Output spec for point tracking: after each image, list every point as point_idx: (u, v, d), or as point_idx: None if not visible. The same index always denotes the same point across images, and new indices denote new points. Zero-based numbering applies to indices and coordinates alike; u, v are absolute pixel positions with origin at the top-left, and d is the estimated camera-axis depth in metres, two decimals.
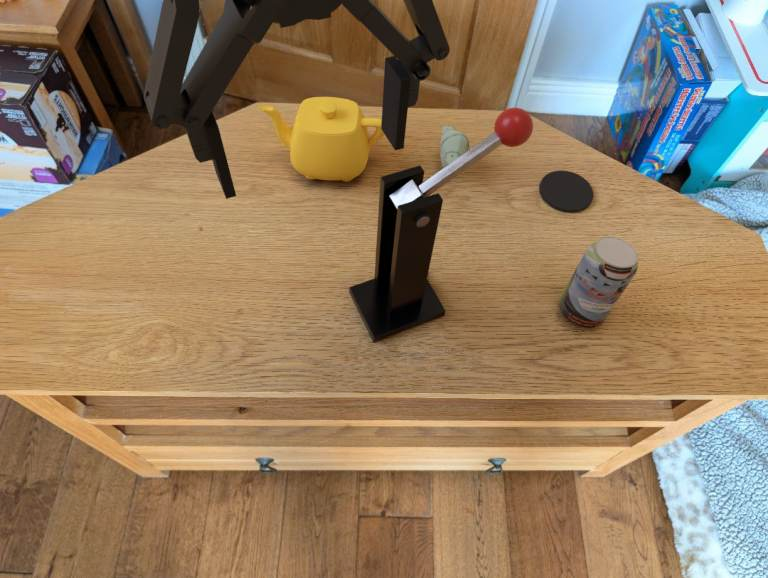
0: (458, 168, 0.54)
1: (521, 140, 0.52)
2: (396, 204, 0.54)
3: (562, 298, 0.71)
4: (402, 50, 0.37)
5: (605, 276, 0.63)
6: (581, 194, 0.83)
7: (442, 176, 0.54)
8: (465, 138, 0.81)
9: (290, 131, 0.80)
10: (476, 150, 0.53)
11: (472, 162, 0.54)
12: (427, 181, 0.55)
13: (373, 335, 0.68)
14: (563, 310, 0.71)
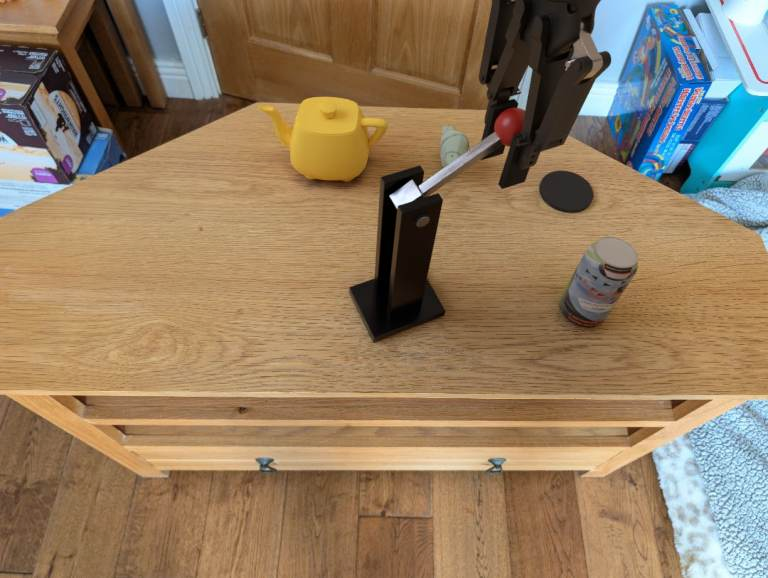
0: (458, 168, 0.54)
1: None
2: (396, 204, 0.54)
3: (562, 298, 0.71)
4: None
5: (605, 276, 0.63)
6: (581, 194, 0.83)
7: (442, 176, 0.54)
8: (465, 138, 0.81)
9: (290, 131, 0.80)
10: (476, 150, 0.53)
11: (472, 162, 0.54)
12: (427, 181, 0.55)
13: (373, 335, 0.68)
14: (563, 310, 0.71)
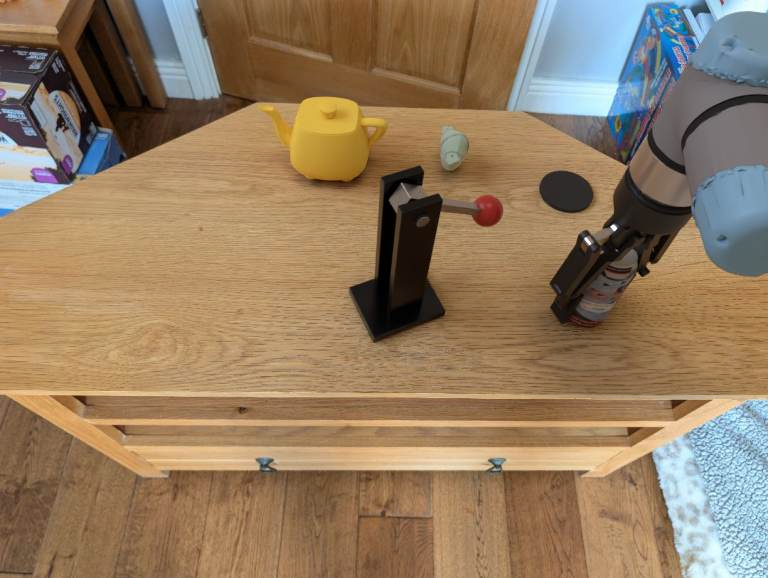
0: (453, 206, 0.59)
1: (494, 221, 0.62)
2: (408, 192, 0.54)
3: None
4: None
5: (605, 276, 0.63)
6: (581, 194, 0.83)
7: None
8: (465, 138, 0.81)
9: (290, 131, 0.80)
10: (466, 204, 0.60)
11: (459, 210, 0.60)
12: None
13: (373, 335, 0.68)
14: None
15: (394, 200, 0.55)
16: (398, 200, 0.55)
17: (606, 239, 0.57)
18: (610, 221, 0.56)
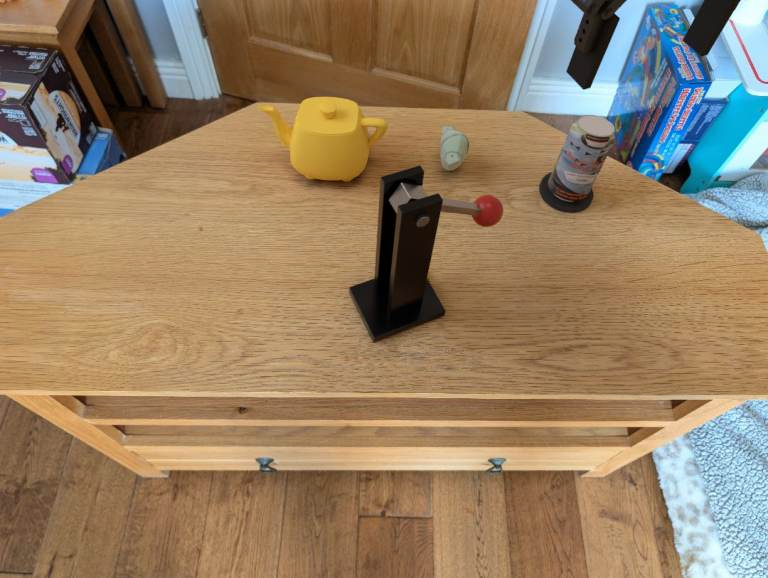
0: (453, 206, 0.59)
1: (494, 221, 0.62)
2: (408, 192, 0.54)
3: (551, 177, 0.82)
4: None
5: (586, 144, 0.74)
6: None
7: None
8: (465, 138, 0.81)
9: (290, 131, 0.80)
10: (466, 204, 0.60)
11: (459, 210, 0.60)
12: None
13: (373, 335, 0.68)
14: (551, 186, 0.81)
15: (394, 200, 0.55)
16: (398, 200, 0.55)
17: None
18: None
